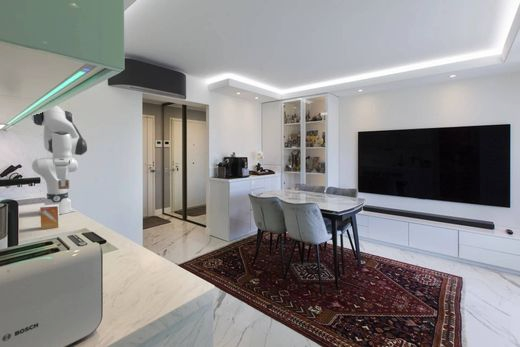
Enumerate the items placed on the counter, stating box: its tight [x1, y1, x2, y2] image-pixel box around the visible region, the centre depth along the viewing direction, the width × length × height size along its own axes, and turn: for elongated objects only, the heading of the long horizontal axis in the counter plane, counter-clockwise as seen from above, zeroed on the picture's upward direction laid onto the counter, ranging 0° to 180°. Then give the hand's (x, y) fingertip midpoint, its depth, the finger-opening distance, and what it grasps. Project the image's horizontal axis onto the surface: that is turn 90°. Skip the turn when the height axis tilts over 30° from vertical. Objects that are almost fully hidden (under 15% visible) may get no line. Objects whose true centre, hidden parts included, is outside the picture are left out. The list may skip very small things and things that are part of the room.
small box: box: [39, 204, 60, 230], centre depth 153 cm, size 8×6×13 cm
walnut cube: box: [58, 179, 70, 190], centre depth 147 cm, size 4×4×4 cm
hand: (63, 185), depth 147 cm, fingers closed on walnut cube, 4 cm apart
